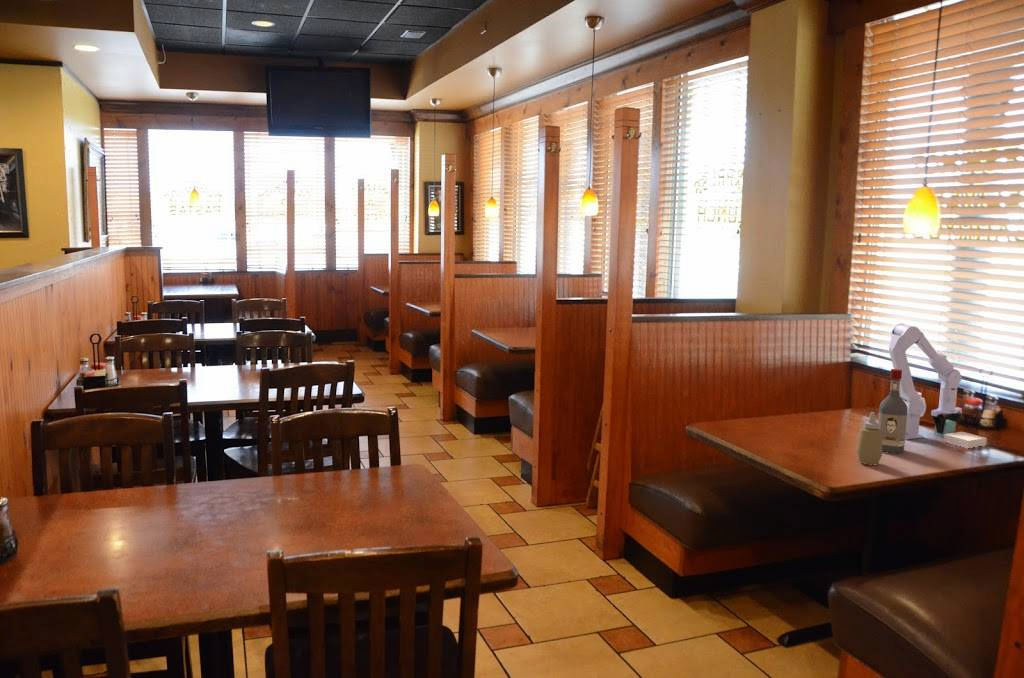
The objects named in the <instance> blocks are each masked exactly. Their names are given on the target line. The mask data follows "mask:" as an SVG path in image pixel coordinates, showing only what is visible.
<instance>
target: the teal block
mask: <svg viewBox="0 0 1024 678" xmlns="http://www.w3.org/2000/svg"><path fill="white" fill-rule="evenodd" d="M956 426H957V423H956V422H955V421H951V420H946V422H945V425H944V431H943V433H942V434H941V433H937V430H936V425H934V433H933V434H934V436H937V435H938V436H937V437H940V436H941V438H944V434H949V433H956Z"/></svg>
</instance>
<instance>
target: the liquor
mask: <svg viewBox="0 0 1024 678" xmlns="http://www.w3.org/2000/svg"><path fill="white" fill-rule="evenodd" d="M889 377H890V387H889V392H888V393H889V394H888V395H887V396H886V397H885V398H884V399H883V400H882V401H881V402H880V405H879V408H878V419H877V423H879V429H880V430H881V431H882V453H883V452H888V453H887V454H891V453H895V454H894V455H902V454H903V453H904V451H905V442H906V439H905V432H906V420H907V405H906V403H905V402H904V401H903V399H902V398H901V397H900V393H899V390H900V379H901V378H902V370H900V369H894V368H891V369H890V375H889ZM901 453H902V454H901Z"/></svg>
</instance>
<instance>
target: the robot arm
mask: <svg viewBox="0 0 1024 678" xmlns="http://www.w3.org/2000/svg"><path fill="white" fill-rule="evenodd" d="M890 336H891V337H890V341H889V345H888V351H889V356H890V359H891V364H892V367H893V368H892V369H900V370H902V378H901V379H900V390H899V393H900V397H901V398H902V399H903V401H904V402H905V403H906V405H907V420H906V432H905V440H911V439H920V438H924V435H921V434H919V430H920V418H921V417H920V415H921V413H922V412H923V411H924V408H925V405H924V403H923V401H922V400H921V399H920V396H919V394H918V393H917V392H918V391H917V390H916V388H915V385H914V382H913V377H912V373H911V370H910V365H909V361H908V357H907V353H906V352H907V350H908V349H909V348H911V347H912V346H913V345H914V344H915V345H916V346H917V347H918V348H919V349H920V350H921V351H922V352H923V353H924V354H925V356H927V357H928V364H929V365H930V366H931V367H932V369H934V370H935V372H936V373H937V377H938V379H940V389H939V390H940V391H939V402H938V408H936V409H935V408H934V409H932V410H930V411H931V413H930V414H931V418H932V419H933V422H934V424H935V425H936V430H937V433H941V434H942V433H943V431H944V425H945V422H946V420H951V421H955V422H956V424H957V423H958V421H960V419H961V416H962V415H961V414H962V411H963V408H962V407H958V406H957V396H958V395H957V394H958V387H959V384H960V382H962V380H963V376H962V375H961V372H960V370H958V369H956V368H954V366H955V365H953V363H950V361H949V360H948V359H947V358H948V357H947V355H945V354H943V353H940V352H937V351H936V349H935V348H934V347H933V345H931V343H930V342H929V340H928V339H927V337H926V336H925V334H924V333H923V332H922V331H921V330H920V329H919V327H918V326H914V325H913V326H912V325H908V324H905V323H902V322H901V323H897V324H896V325H894V327H893V328H892V329H891V331H890ZM935 425H934V426H935Z"/></svg>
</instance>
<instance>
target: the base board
mask: <svg viewBox="0 0 1024 678" xmlns="http://www.w3.org/2000/svg"><path fill="white" fill-rule="evenodd" d="M987 440H988V439H987V437H984V436H980V435H976V434H973V433H969V432H965V431H955V433H949V434H944V437H943V443H946V442H947V444H949V443H950V445H953V446H956V445H957V447H960V446H961V447H960V448H963V447H964V449H967V450H968V448H969V449H974V448H973V447H975V448H979V447H978V446H982V447H986V446H987ZM985 445H986V446H985Z"/></svg>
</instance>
